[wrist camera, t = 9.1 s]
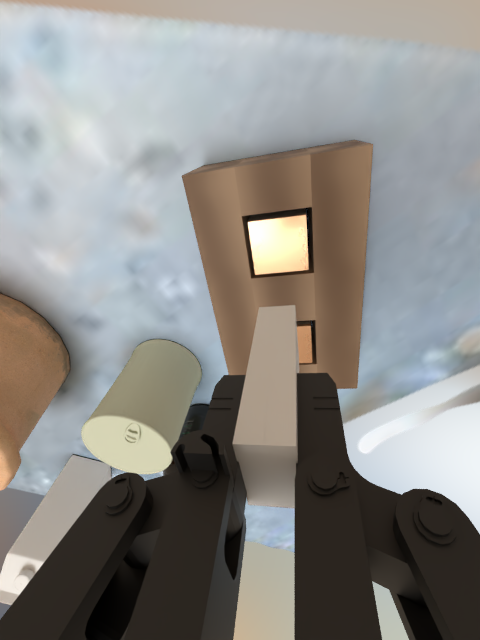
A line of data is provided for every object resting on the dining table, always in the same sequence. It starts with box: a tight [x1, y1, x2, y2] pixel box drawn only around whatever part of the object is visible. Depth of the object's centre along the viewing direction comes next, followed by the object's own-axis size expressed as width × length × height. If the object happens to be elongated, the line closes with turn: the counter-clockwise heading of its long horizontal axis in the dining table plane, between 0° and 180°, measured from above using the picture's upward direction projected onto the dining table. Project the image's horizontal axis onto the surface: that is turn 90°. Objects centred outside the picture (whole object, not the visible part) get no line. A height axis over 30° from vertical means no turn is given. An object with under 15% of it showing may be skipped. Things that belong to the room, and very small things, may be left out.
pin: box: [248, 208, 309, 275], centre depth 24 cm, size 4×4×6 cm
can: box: [81, 339, 202, 474], centre depth 34 cm, size 9×9×12 cm
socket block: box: [182, 140, 373, 389], centre depth 27 cm, size 12×20×6 cm, turn 9°
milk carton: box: [0, 455, 111, 605], centre depth 48 cm, size 7×7×19 cm
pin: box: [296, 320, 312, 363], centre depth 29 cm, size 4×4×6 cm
